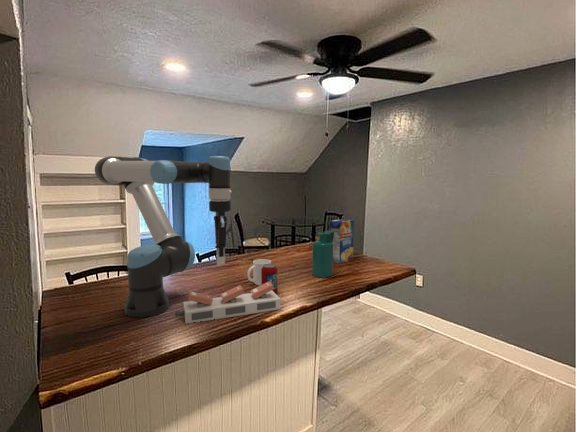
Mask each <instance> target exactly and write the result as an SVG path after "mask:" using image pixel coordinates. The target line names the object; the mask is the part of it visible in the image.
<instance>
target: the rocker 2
mask: <svg viewBox="0 0 576 432" xmlns="http://www.w3.org/2000/svg"><path fill="white" fill-rule="evenodd" d="M242 294H245V291H244V288H243V287H242V285H241V284H238V285H236V286H235V287H233V288H230V289H229V290H226V291H225V292H222V293H220V294H219V295H220V297H222V300H223V302H224V303H225V302H227V301H229V300H231V299H233V298H235V297H238V296H240V295H242Z"/></svg>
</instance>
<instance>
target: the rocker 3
mask: <svg viewBox="0 0 576 432" xmlns="http://www.w3.org/2000/svg"><path fill="white" fill-rule="evenodd" d="M272 290H274V286H273V284H271V283H270V282H267V283H265V284H263V285H257V286H256V287H254V288H252V289H251V290H250V293H252V295H253V296H254V298H255V299H256V298H258V297H260V296H262V295H264V294H266V293H268V292H270V291H272Z"/></svg>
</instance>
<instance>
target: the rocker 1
mask: <svg viewBox="0 0 576 432" xmlns="http://www.w3.org/2000/svg"><path fill="white" fill-rule="evenodd" d="M212 298H213V297H212V295H211V294H205V293H200V292H196V291H192V290H191V291H190V290H189V291H188V294H187V299H188V301H194V302H199V303H204V304H209V305H211V304H212V301H213V299H212Z"/></svg>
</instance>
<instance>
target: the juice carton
mask: <svg viewBox="0 0 576 432" xmlns="http://www.w3.org/2000/svg"><path fill="white" fill-rule="evenodd" d="M354 226H355V220H354V219H347V218H340V219H335V220H334V219H333V220H330V230H329V231H332V232H334V239H333V242H332V243H333V263H335V264H339V265H341V264H344V262H345V263H348V261H349V262H352V261H354V233H355V232H354V231H355V230H354V229H355V227H354Z"/></svg>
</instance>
